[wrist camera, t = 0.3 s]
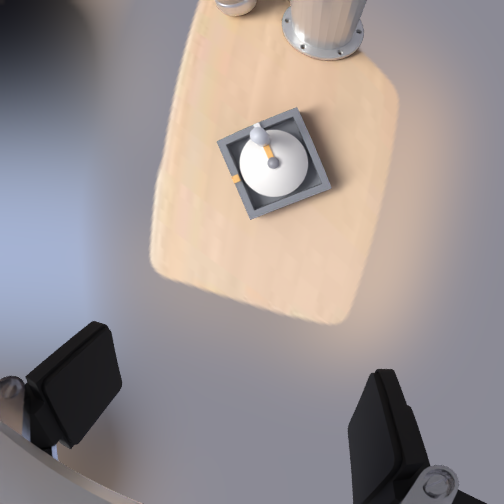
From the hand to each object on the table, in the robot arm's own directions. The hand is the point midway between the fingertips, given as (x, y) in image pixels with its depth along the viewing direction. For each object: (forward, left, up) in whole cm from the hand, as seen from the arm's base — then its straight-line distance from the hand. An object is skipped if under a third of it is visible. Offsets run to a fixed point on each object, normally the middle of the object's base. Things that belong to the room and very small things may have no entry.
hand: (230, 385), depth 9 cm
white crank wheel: (-8, +2, -33) cm, 34 cm away
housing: (-8, +2, -35) cm, 36 cm away
